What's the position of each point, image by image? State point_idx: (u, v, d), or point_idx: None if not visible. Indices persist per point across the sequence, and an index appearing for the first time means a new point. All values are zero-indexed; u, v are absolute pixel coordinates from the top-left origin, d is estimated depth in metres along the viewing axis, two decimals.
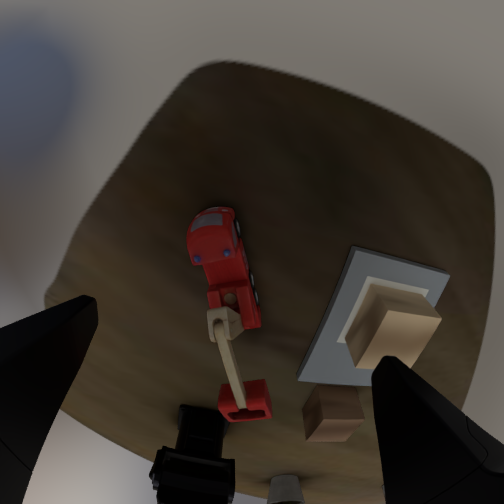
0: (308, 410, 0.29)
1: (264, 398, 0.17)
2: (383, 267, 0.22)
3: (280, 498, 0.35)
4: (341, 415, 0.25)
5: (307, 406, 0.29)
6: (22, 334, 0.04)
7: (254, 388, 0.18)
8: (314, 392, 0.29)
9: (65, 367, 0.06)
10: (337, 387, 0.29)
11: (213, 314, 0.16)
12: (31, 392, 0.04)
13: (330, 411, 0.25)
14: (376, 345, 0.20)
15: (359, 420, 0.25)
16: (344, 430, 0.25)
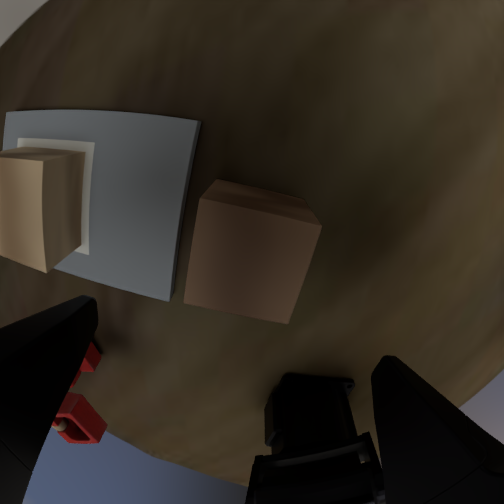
0: None
1: None
2: None
3: None
4: None
5: None
6: (22, 334, 0.04)
7: None
8: None
9: (65, 367, 0.06)
10: None
11: None
12: (31, 392, 0.04)
13: None
14: (15, 251, 0.12)
15: (204, 212, 0.11)
16: (251, 243, 0.12)
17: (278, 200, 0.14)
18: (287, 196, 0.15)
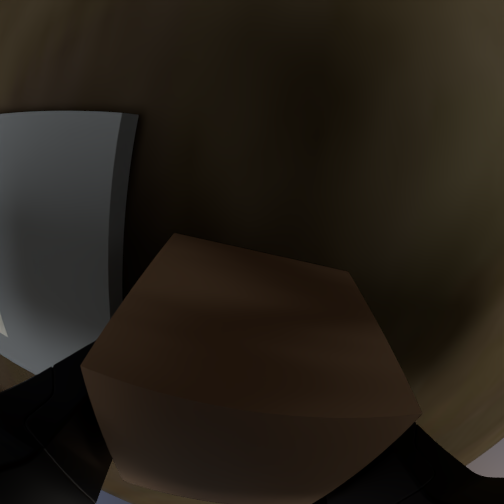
0: None
1: None
2: None
3: None
4: None
5: None
6: None
7: None
8: None
9: None
10: None
11: None
12: None
13: None
14: None
15: (105, 395, 0.03)
16: (241, 455, 0.04)
17: (307, 304, 0.06)
18: (320, 273, 0.07)
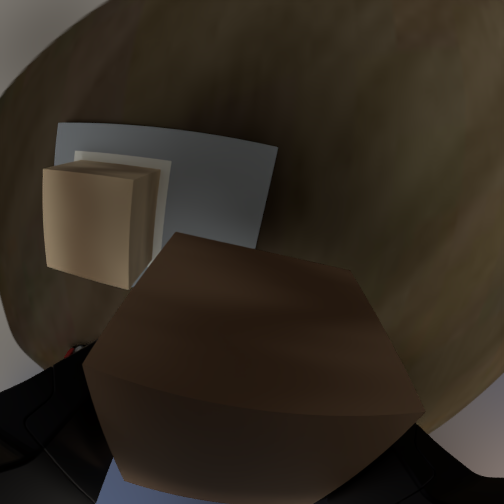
0: None
1: None
2: None
3: None
4: None
5: None
6: None
7: None
8: None
9: None
10: None
11: None
12: None
13: None
14: (88, 268, 0.14)
15: (106, 393, 0.03)
16: (243, 454, 0.04)
17: (309, 302, 0.06)
18: (322, 272, 0.07)
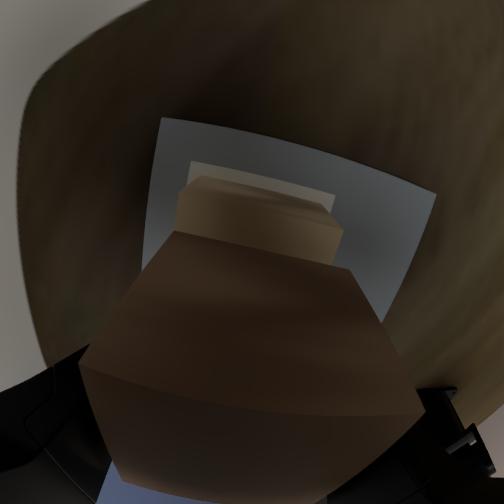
0: None
1: None
2: None
3: None
4: None
5: None
6: None
7: None
8: None
9: None
10: None
11: None
12: None
13: None
14: None
15: (103, 393, 0.03)
16: (242, 454, 0.04)
17: (308, 301, 0.06)
18: (321, 271, 0.07)
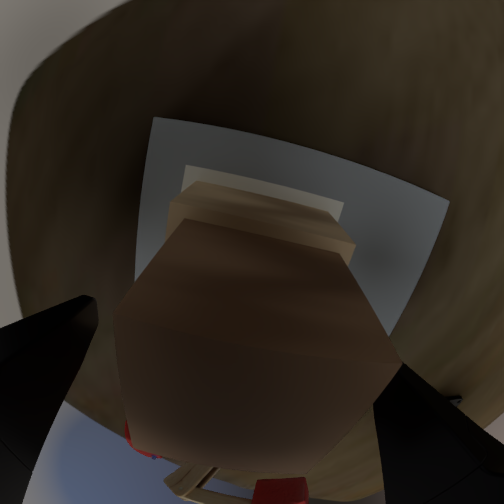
0: None
1: None
2: None
3: None
4: None
5: None
6: (22, 334, 0.04)
7: None
8: None
9: (65, 367, 0.06)
10: None
11: None
12: (31, 392, 0.04)
13: None
14: None
15: (130, 342, 0.04)
16: (245, 400, 0.05)
17: (301, 275, 0.07)
18: (313, 253, 0.08)
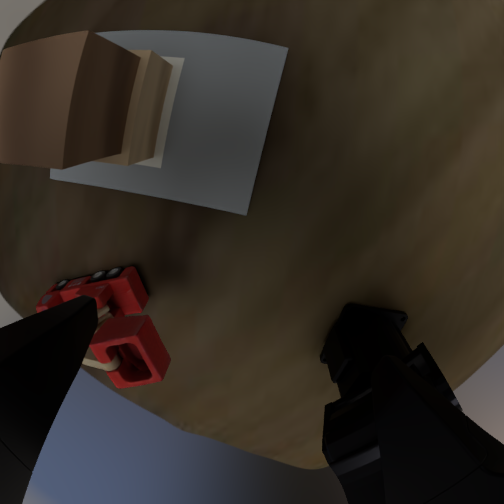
0: None
1: None
2: None
3: None
4: None
5: None
6: (22, 334, 0.04)
7: None
8: None
9: (65, 367, 0.06)
10: None
11: None
12: (31, 392, 0.04)
13: None
14: None
15: (3, 60, 0.06)
16: (28, 73, 0.06)
17: None
18: None
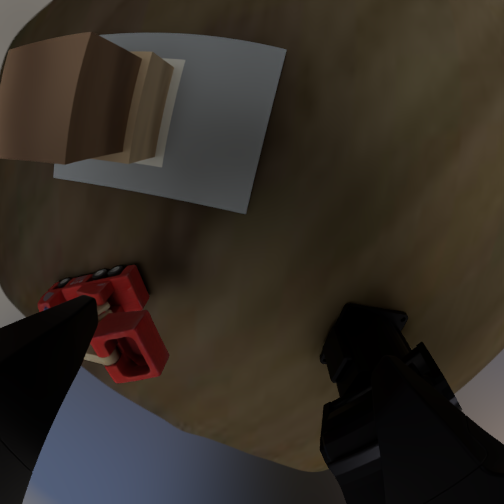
0: None
1: None
2: None
3: None
4: None
5: None
6: (22, 334, 0.04)
7: None
8: None
9: (65, 367, 0.06)
10: None
11: None
12: (31, 392, 0.04)
13: None
14: None
15: (9, 60, 0.06)
16: (33, 72, 0.07)
17: None
18: None
